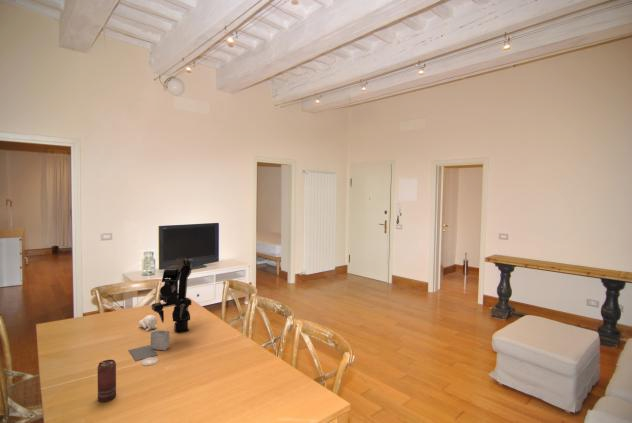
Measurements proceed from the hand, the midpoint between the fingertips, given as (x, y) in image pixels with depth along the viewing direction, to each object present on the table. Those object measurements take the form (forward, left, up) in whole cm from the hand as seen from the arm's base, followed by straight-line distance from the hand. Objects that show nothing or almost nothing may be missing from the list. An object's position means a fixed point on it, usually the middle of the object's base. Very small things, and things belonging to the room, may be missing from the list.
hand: (171, 320), depth 183 cm
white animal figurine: (+4, -31, -13) cm, 34 cm away
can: (+35, +33, -13) cm, 50 cm away
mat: (+14, +1, -13) cm, 19 cm away
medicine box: (+6, +1, -13) cm, 15 cm away
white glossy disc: (+14, +13, -14) cm, 24 cm away
